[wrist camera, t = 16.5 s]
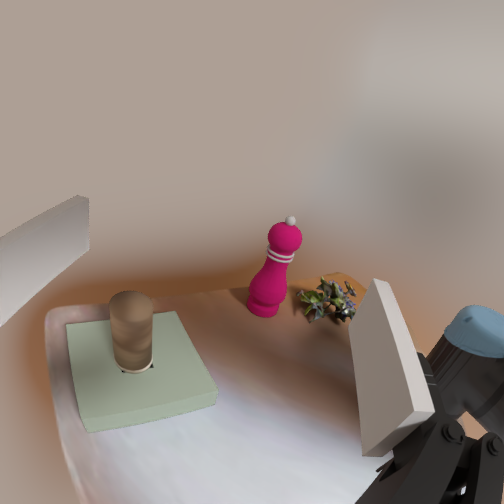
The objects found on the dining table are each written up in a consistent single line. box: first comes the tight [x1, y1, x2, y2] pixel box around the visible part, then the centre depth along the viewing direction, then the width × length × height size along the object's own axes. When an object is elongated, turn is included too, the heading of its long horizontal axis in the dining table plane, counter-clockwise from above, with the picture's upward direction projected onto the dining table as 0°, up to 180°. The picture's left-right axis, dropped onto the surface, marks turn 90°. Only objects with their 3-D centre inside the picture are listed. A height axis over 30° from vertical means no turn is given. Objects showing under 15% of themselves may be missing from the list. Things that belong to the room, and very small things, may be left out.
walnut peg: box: [109, 291, 153, 374], centre depth 34 cm, size 5×5×13 cm
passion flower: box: [296, 276, 356, 323], centre depth 58 cm, size 11×11×12 cm
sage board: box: [66, 311, 219, 433], centre depth 36 cm, size 18×16×4 cm
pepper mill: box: [247, 216, 302, 317], centre depth 54 cm, size 7×7×20 cm
